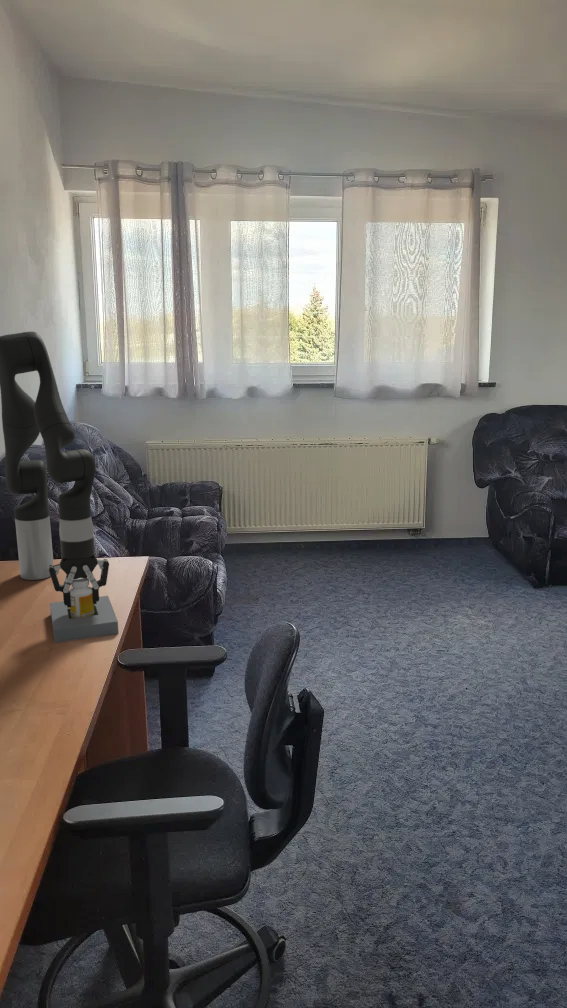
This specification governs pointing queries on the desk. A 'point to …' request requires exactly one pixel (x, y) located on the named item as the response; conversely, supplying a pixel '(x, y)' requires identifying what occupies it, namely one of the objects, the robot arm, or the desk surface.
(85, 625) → the socket holder
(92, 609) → the supplement bottle
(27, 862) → the desk surface
